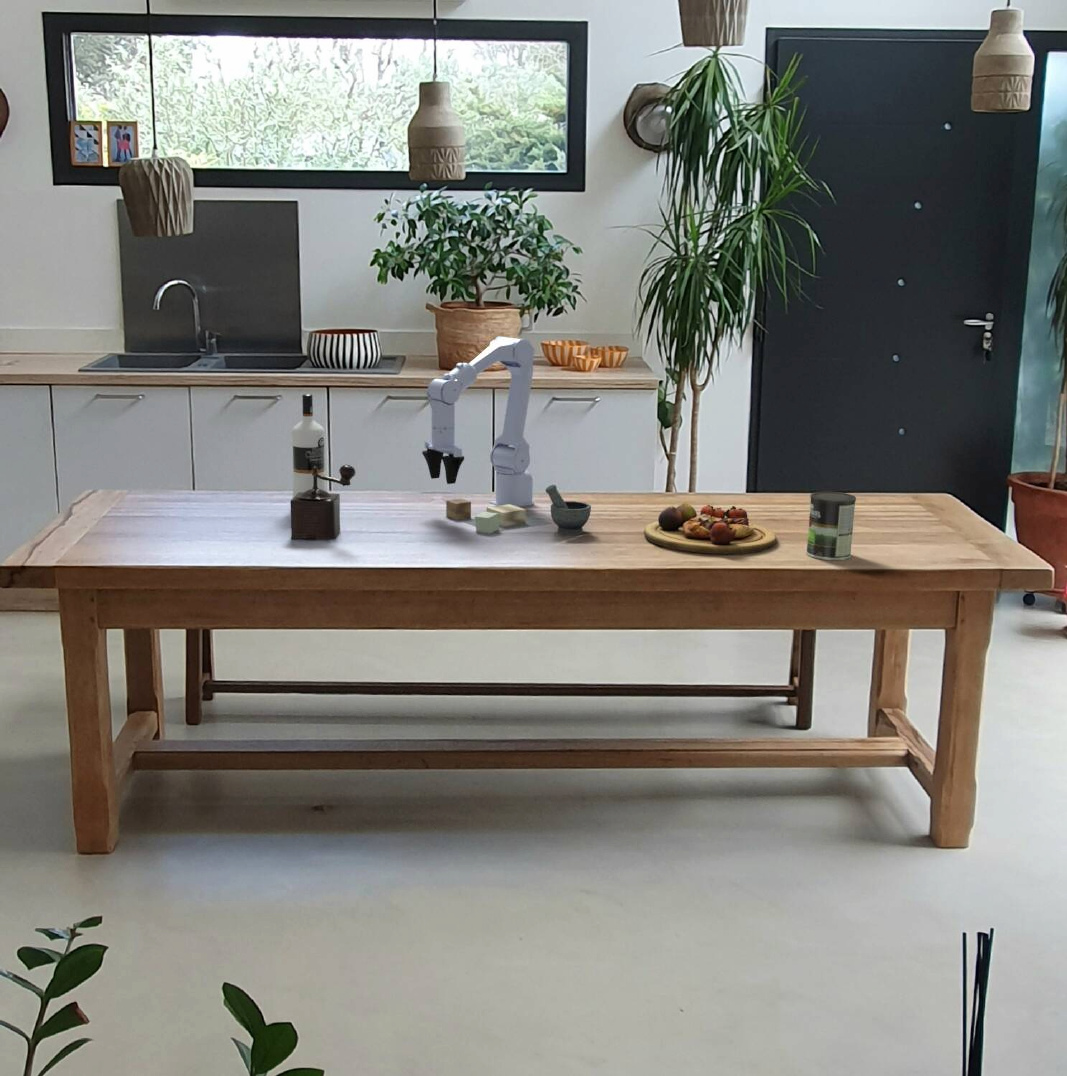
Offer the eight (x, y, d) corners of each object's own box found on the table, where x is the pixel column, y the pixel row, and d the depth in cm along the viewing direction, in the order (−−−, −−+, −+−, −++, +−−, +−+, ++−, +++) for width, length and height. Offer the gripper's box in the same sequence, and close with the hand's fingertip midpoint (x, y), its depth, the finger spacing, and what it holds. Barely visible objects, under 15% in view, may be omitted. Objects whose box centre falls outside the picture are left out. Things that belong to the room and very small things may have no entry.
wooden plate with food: (775, 561, 308) (778, 526, 306) (636, 550, 313) (638, 515, 311) (776, 531, 339) (779, 499, 337) (650, 522, 344) (652, 490, 342)
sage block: (485, 527, 331) (484, 511, 329) (499, 529, 328) (497, 513, 327) (476, 532, 327) (474, 516, 326) (489, 533, 325) (488, 518, 324)
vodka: (307, 504, 353) (305, 390, 345) (335, 509, 348) (333, 393, 341) (283, 511, 345) (281, 394, 338) (312, 516, 340) (309, 397, 333)
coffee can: (813, 560, 308) (817, 500, 304) (800, 549, 318) (805, 491, 314) (857, 560, 309) (862, 500, 305) (843, 549, 319) (848, 491, 315)
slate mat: (518, 513, 348) (518, 512, 348) (551, 524, 337) (551, 523, 337) (460, 522, 337) (460, 520, 337) (492, 533, 326) (492, 532, 326)
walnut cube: (461, 515, 345) (461, 498, 344) (470, 519, 341) (471, 501, 340) (446, 517, 342) (446, 500, 341) (455, 521, 339) (456, 503, 338)
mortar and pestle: (587, 528, 334) (588, 480, 331) (593, 537, 325) (594, 488, 322) (542, 528, 333) (543, 480, 330) (546, 537, 324) (548, 488, 321)
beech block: (509, 517, 342) (509, 504, 341) (525, 523, 336) (525, 509, 335) (486, 520, 338) (486, 507, 337) (502, 526, 332) (502, 512, 331)
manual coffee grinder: (289, 540, 316) (287, 465, 311) (298, 529, 327) (296, 456, 322) (355, 542, 315) (354, 466, 311) (362, 531, 326) (361, 458, 322)
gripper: (414, 424, 340) (414, 477, 343) (444, 433, 328) (444, 487, 331) (438, 422, 344) (438, 474, 347) (469, 430, 332) (468, 484, 335)
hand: (443, 480), depth 339 cm, fingers open, 7 cm apart
